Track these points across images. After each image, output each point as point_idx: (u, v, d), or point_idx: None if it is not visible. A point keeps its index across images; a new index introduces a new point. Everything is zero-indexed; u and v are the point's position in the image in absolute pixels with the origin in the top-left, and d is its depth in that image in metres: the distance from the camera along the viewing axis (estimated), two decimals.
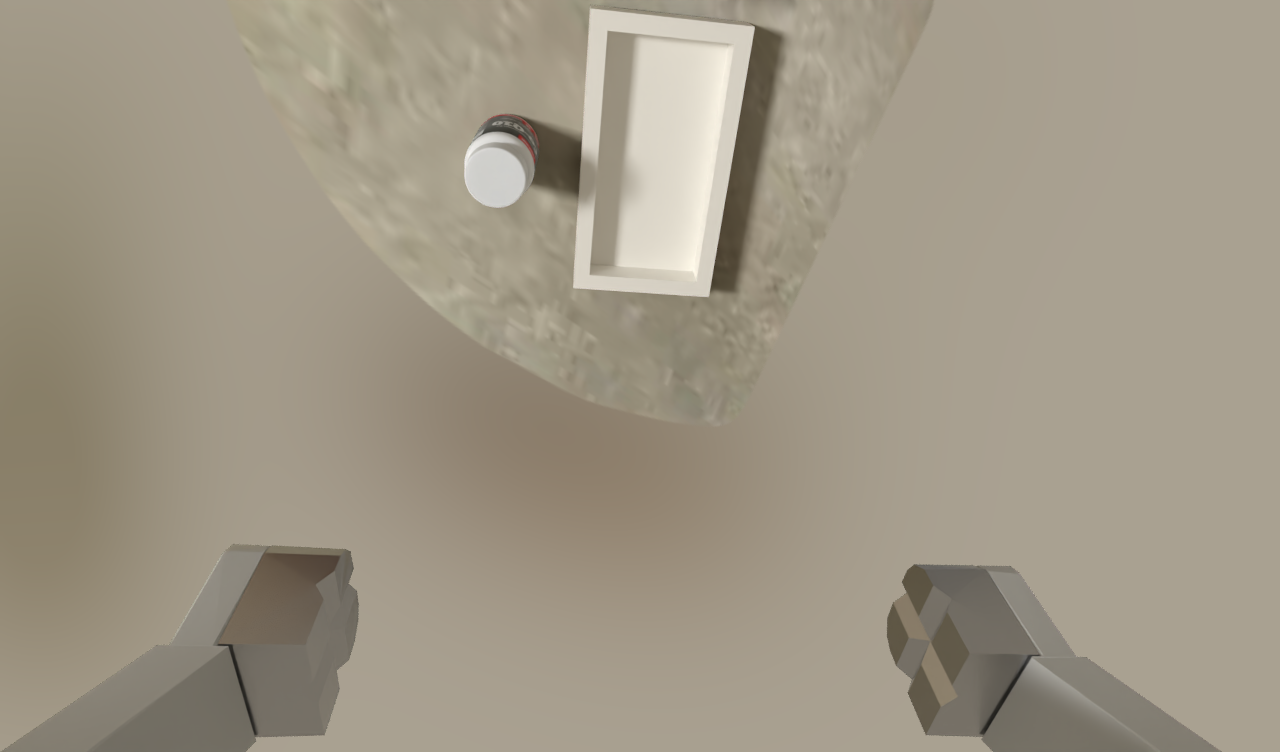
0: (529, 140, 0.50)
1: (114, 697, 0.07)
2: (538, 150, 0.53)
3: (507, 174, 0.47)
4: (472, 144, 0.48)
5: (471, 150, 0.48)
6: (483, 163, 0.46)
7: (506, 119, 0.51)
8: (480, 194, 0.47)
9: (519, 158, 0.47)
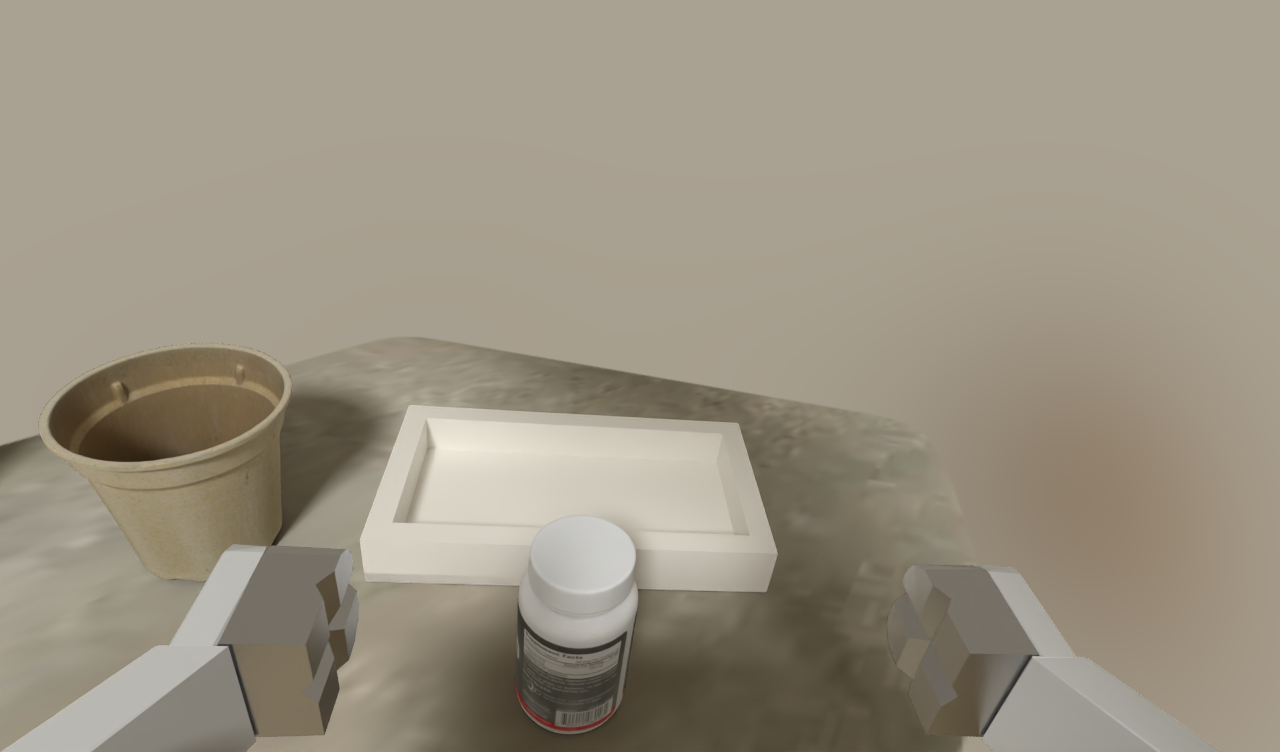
0: None
1: (114, 697, 0.07)
2: None
3: (575, 535, 0.27)
4: (539, 627, 0.26)
5: (548, 623, 0.26)
6: (558, 564, 0.26)
7: None
8: (614, 570, 0.26)
9: None
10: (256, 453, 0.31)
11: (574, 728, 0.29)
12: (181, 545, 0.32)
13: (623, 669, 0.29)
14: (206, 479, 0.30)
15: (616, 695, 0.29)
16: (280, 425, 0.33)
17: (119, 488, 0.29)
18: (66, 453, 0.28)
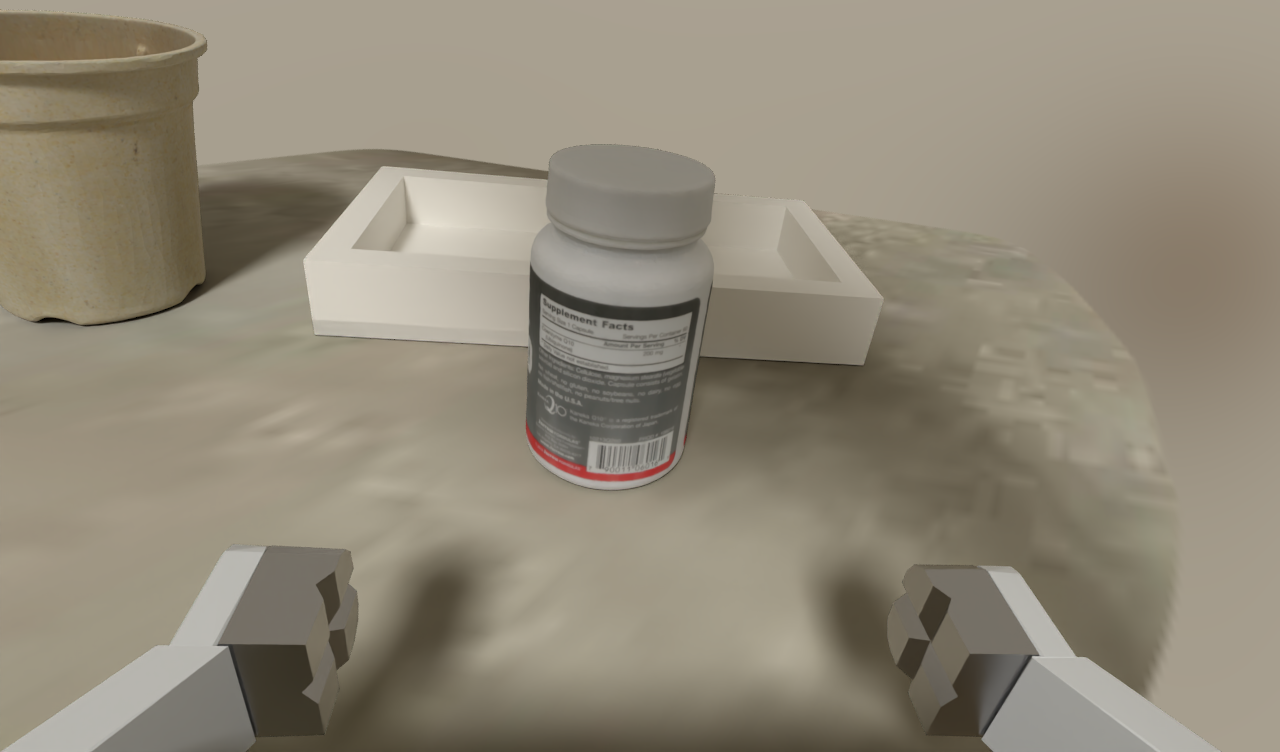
0: None
1: (114, 697, 0.07)
2: None
3: (618, 155, 0.18)
4: (565, 276, 0.17)
5: (580, 267, 0.17)
6: (595, 169, 0.16)
7: None
8: (684, 180, 0.16)
9: None
10: (147, 109, 0.22)
11: (616, 477, 0.19)
12: (41, 250, 0.22)
13: (689, 386, 0.19)
14: (66, 126, 0.20)
15: (677, 432, 0.20)
16: (188, 91, 0.23)
17: None
18: None
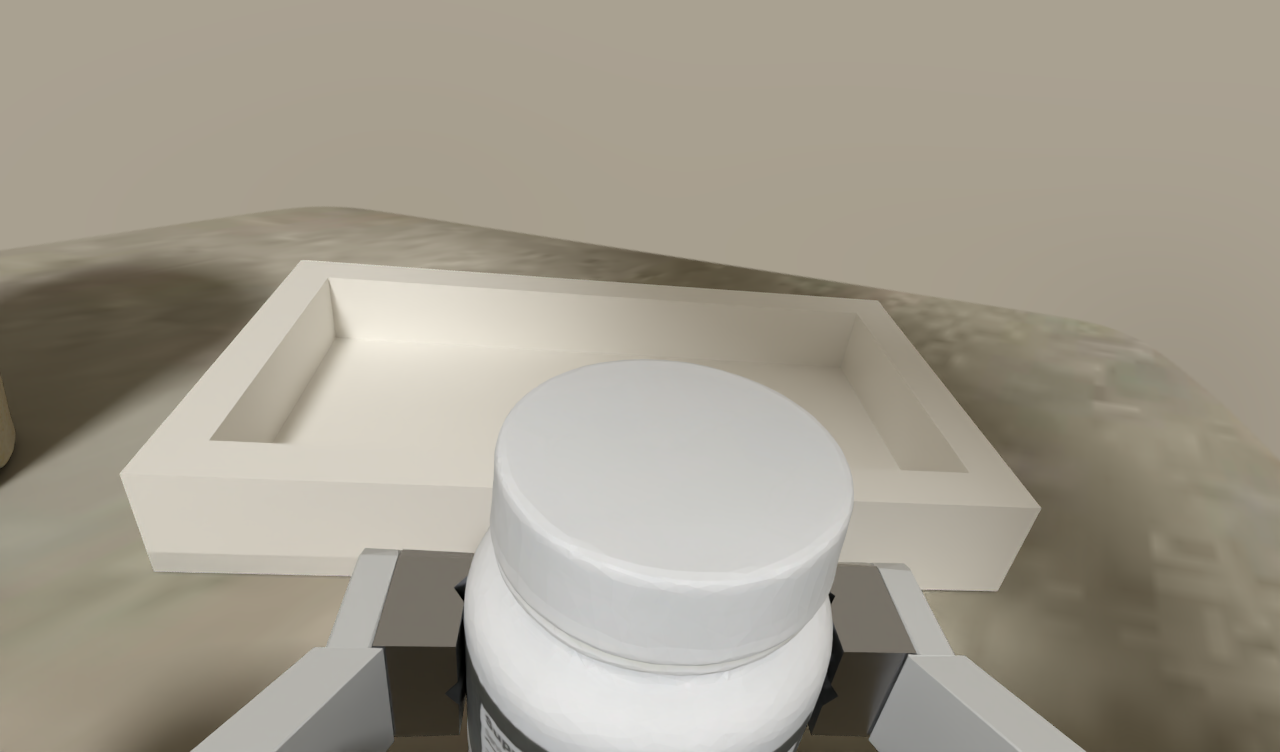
0: None
1: (285, 698, 0.07)
2: None
3: (642, 404, 0.09)
4: (528, 707, 0.08)
5: (560, 695, 0.07)
6: (595, 483, 0.07)
7: None
8: (794, 506, 0.07)
9: None
10: None
11: None
12: None
13: None
14: None
15: None
16: None
17: None
18: None
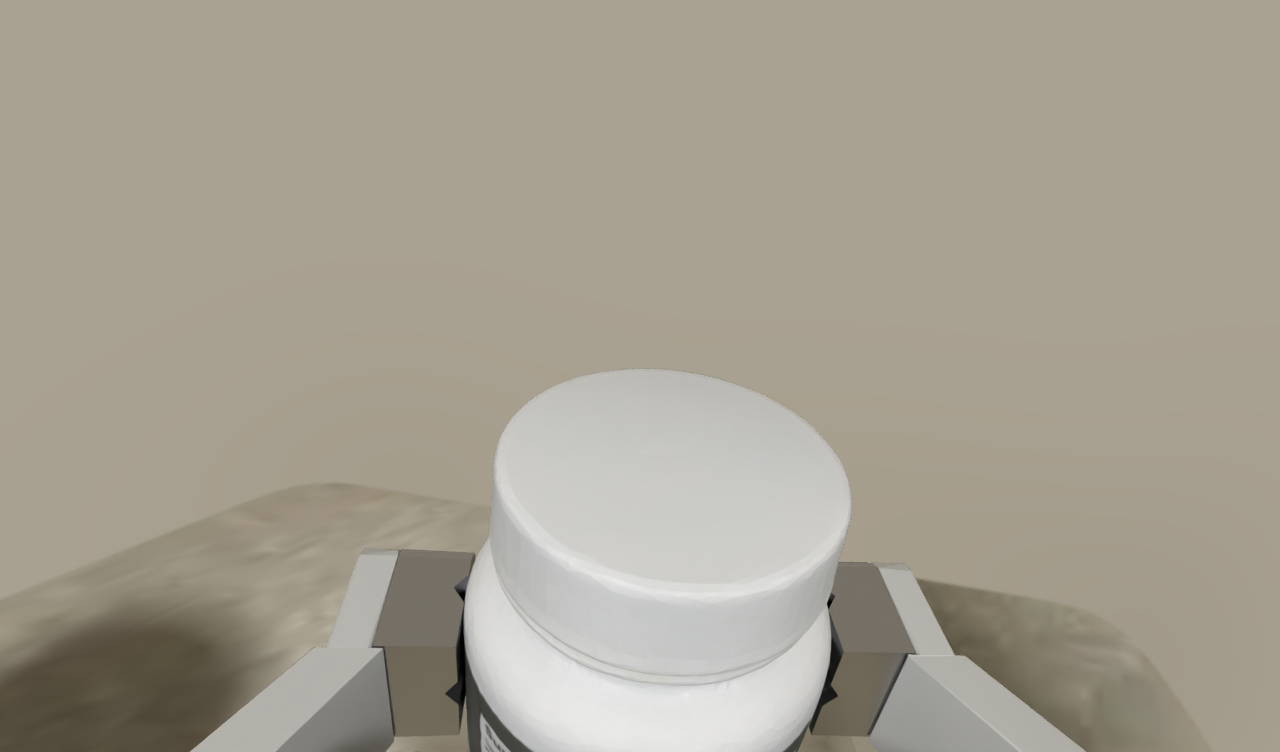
0: None
1: (285, 698, 0.07)
2: None
3: (640, 414, 0.09)
4: (527, 717, 0.08)
5: (560, 705, 0.07)
6: (594, 494, 0.07)
7: None
8: (792, 516, 0.07)
9: None
10: None
11: None
12: None
13: None
14: None
15: None
16: None
17: None
18: None
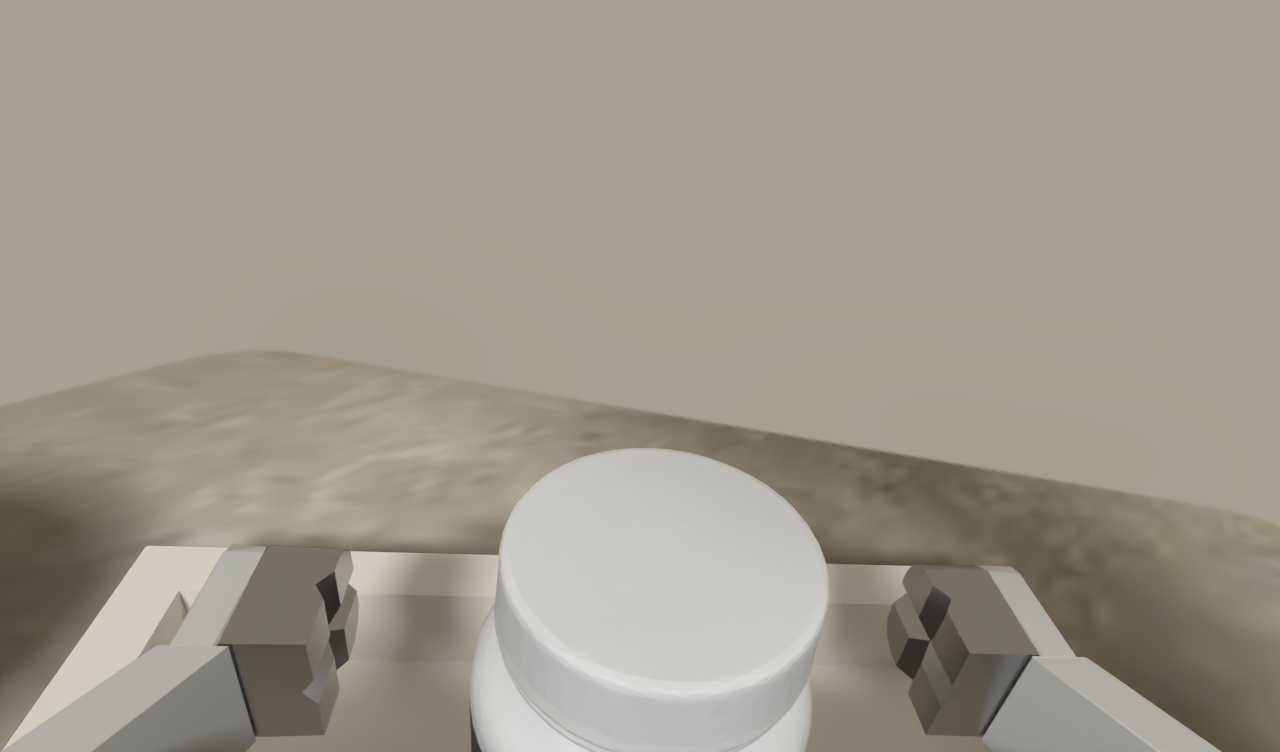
0: None
1: (114, 697, 0.07)
2: None
3: (635, 500, 0.09)
4: None
5: None
6: (591, 588, 0.08)
7: None
8: (773, 608, 0.08)
9: None
10: None
11: None
12: None
13: None
14: None
15: None
16: None
17: None
18: None
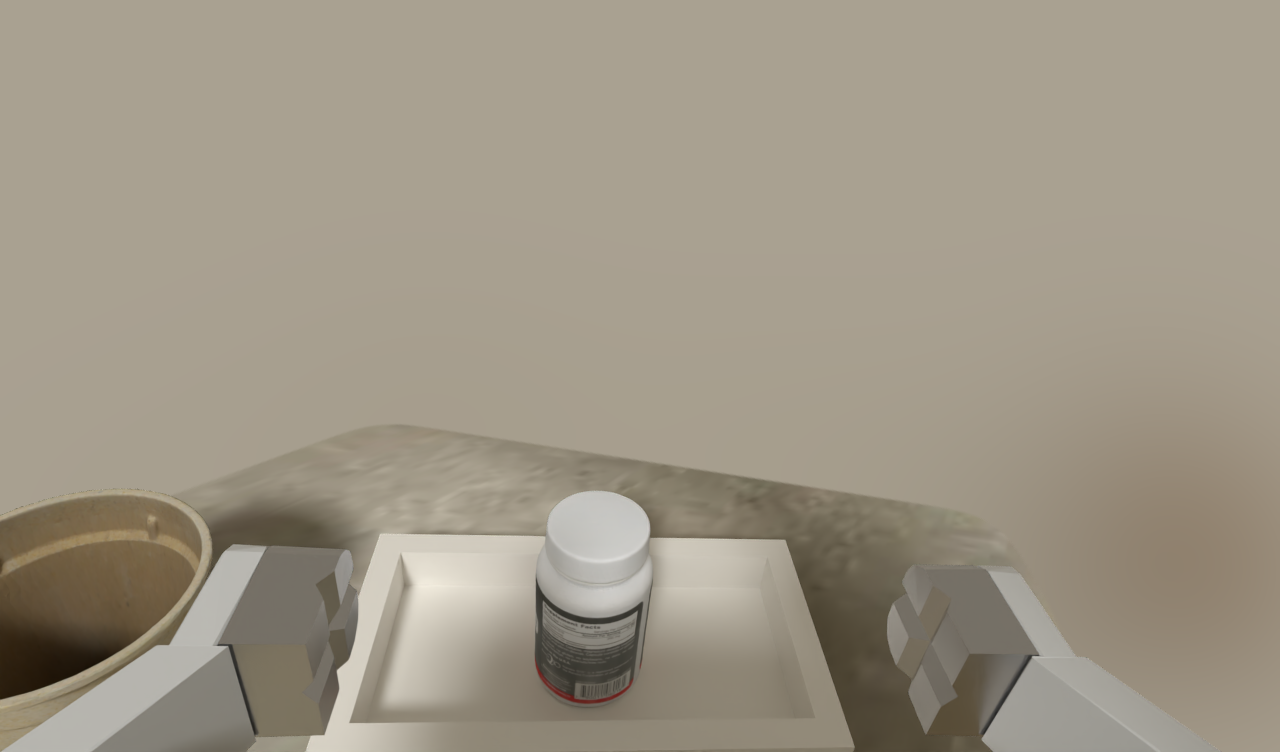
0: None
1: (114, 697, 0.07)
2: None
3: (590, 509, 0.28)
4: (557, 598, 0.27)
5: (566, 594, 0.27)
6: (575, 535, 0.27)
7: None
8: (629, 540, 0.27)
9: None
10: None
11: (593, 701, 0.30)
12: None
13: (640, 641, 0.30)
14: None
15: (634, 668, 0.30)
16: None
17: None
18: None
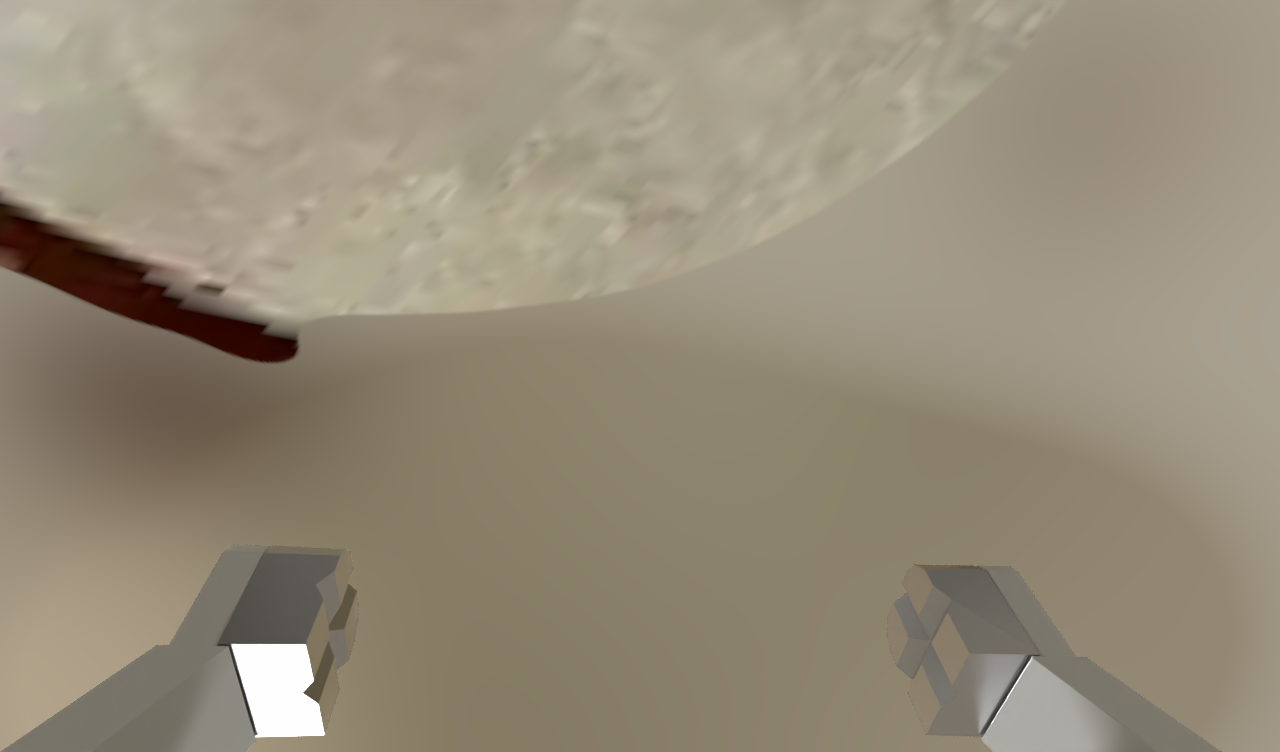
0: None
1: (114, 698, 0.07)
2: None
3: None
4: None
5: None
6: None
7: None
8: None
9: None
10: None
11: None
12: None
13: None
14: None
15: None
16: None
17: None
18: None
